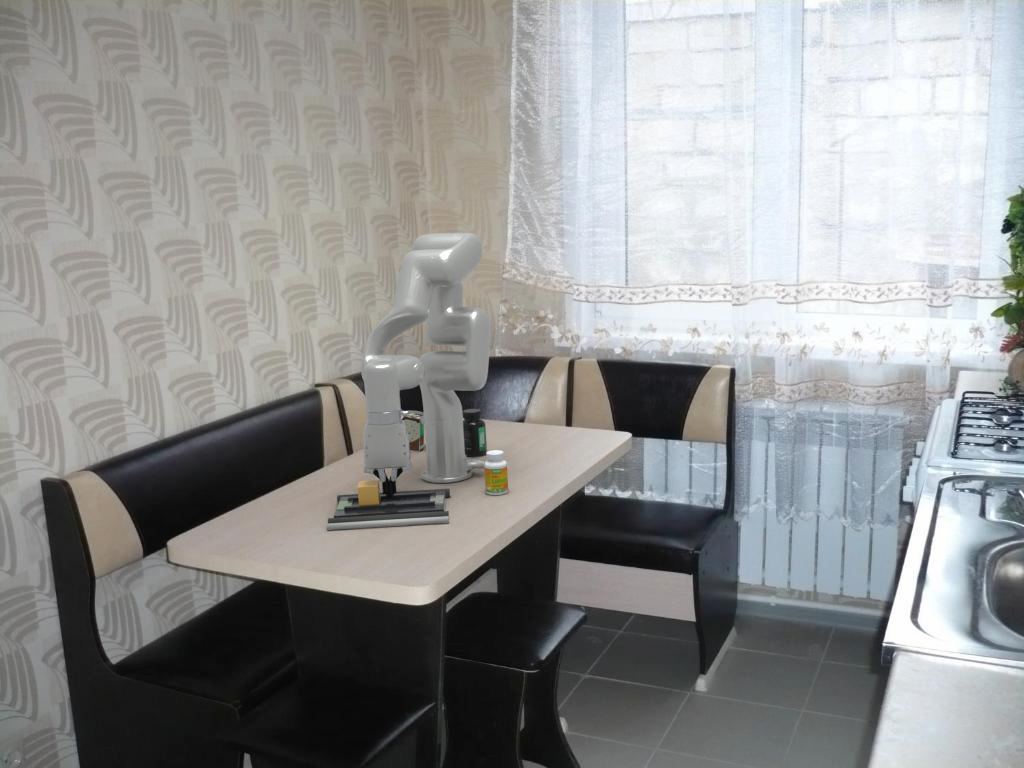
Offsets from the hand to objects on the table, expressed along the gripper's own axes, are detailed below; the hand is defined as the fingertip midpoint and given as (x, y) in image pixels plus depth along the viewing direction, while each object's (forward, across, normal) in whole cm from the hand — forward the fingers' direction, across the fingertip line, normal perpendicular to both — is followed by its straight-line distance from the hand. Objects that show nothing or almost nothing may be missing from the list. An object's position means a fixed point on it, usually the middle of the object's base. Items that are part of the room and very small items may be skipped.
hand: (390, 496), depth 237 cm
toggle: (+1, +5, 0) cm, 5 cm away
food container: (+4, -3, -57) cm, 57 cm away
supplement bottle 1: (+4, -20, -46) cm, 50 cm away
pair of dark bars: (+3, 0, 0) cm, 3 cm away
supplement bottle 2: (+4, -24, -10) cm, 26 cm away
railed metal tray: (+3, 0, 0) cm, 3 cm away
